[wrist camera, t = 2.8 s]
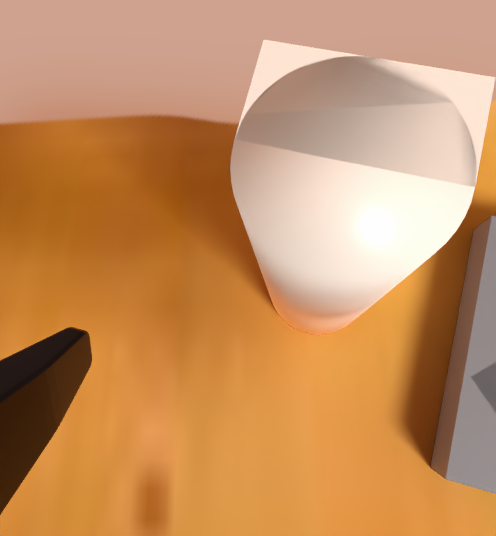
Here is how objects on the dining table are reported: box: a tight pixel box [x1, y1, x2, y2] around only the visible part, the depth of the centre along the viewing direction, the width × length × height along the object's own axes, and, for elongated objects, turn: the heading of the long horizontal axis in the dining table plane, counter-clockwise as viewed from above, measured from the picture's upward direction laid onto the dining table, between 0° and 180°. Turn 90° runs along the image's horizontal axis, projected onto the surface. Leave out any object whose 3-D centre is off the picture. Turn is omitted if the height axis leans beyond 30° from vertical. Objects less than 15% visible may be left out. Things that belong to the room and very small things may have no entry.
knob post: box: [230, 40, 495, 335], centre depth 15 cm, size 4×4×13 cm
